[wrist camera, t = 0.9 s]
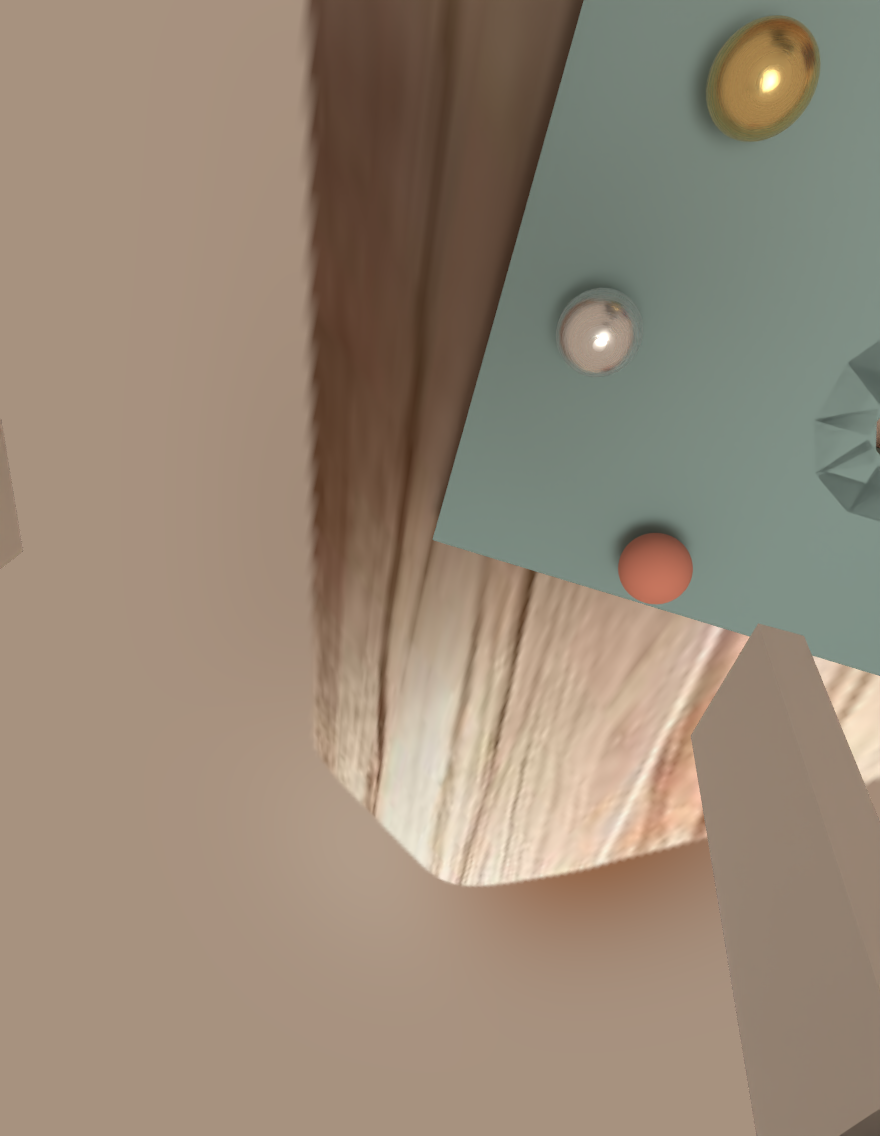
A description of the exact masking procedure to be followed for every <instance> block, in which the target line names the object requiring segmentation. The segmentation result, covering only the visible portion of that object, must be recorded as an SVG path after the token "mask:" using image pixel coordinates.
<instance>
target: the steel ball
mask: <svg viewBox="0 0 880 1136" xmlns="http://www.w3.org/2000/svg"><path fill="white" fill-rule="evenodd" d="M642 338H643V321H642V317H641V314H640V311H639V310H638V308H637V306H636V304H635V303H634V302H633V301H632V300H631V299H630V298H629V297H628V296H627V295H625V294H624V293H622V292H620V291H618V290H615V289H611V288H594V289H590V290H587V291H585V292H583V293H581V294H579V295H578V296H576V297H575V298H574V299H572V300H571V301H570V302H569V303H568V304H567V306H566V307H565V308H564V310H563V312H562V314H561V316H560V318H559V321H558V324H557V329H556V342H557V347H558V350H559V353H560V355H561V357H562V359H563V360H564V361H565V363H566V364H567V365H568V366H569V367H570V368H571V369H573V370H574V371H576V372H577V373H579V374H582V375H584V376H589V377H605V376H609V375H612V374H614V373H617V372H618V371H620V370H622V369H623V368H624V367H626V366H627V365H628V364H629V363H630V362H631V361H632V359H633V358H634V357H635V355H636V354H637V352H638V350H639V348H640V345H641V342H642Z"/></svg>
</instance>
